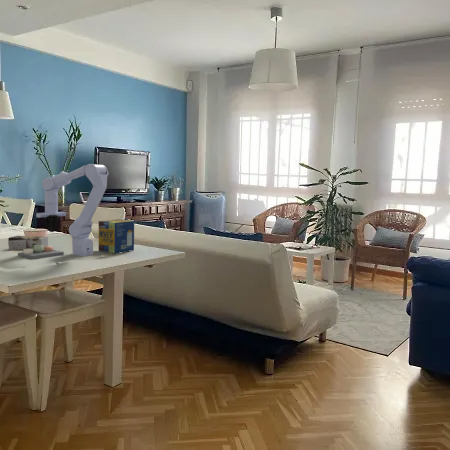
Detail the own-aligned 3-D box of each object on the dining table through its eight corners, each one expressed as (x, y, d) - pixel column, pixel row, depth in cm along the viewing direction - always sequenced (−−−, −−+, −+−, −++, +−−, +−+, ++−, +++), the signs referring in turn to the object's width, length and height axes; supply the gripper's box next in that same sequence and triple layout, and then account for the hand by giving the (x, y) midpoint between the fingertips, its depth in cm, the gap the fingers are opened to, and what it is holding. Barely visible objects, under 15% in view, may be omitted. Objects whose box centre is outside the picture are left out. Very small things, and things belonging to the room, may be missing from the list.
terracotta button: (54, 253, 211) (54, 246, 211) (47, 254, 208) (47, 247, 208) (49, 252, 213) (49, 246, 213) (42, 253, 210) (41, 246, 210)
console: (63, 257, 208) (63, 251, 208) (33, 261, 196) (33, 255, 196) (48, 253, 215) (48, 248, 215) (18, 257, 203) (17, 252, 203)
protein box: (98, 252, 224) (97, 221, 223) (118, 248, 238) (119, 218, 236) (114, 254, 219) (114, 222, 218) (134, 250, 233) (134, 220, 231)
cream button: (35, 255, 203) (34, 249, 203) (26, 257, 200) (26, 250, 199) (30, 254, 205) (29, 248, 205) (21, 255, 202) (21, 249, 202)
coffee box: (41, 238, 220) (7, 237, 220) (41, 251, 221) (8, 250, 221) (48, 236, 229) (16, 235, 229) (48, 248, 230) (16, 247, 230)
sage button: (45, 251, 207) (45, 245, 207) (37, 253, 204) (36, 246, 203) (40, 250, 209) (39, 244, 209) (32, 251, 206) (31, 245, 206)
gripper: (59, 202, 222) (60, 229, 224) (32, 203, 211) (32, 232, 212) (68, 203, 218) (68, 231, 220) (41, 204, 207) (41, 233, 208)
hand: (51, 231), depth 216 cm, fingers closed
